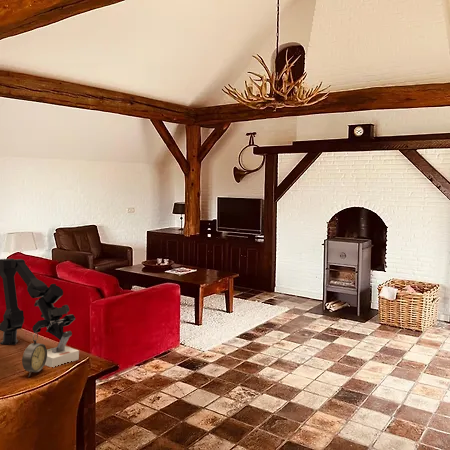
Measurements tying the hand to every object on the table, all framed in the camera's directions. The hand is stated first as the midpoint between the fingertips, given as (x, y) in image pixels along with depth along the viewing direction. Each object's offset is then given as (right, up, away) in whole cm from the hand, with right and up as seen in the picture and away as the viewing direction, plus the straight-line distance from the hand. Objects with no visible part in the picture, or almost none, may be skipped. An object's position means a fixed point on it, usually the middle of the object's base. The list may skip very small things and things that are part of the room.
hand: (62, 340), depth 202 cm
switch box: (-3, -9, +2) cm, 10 cm away
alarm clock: (-7, -10, -14) cm, 19 cm away
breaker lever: (-2, -5, +1) cm, 6 cm away
